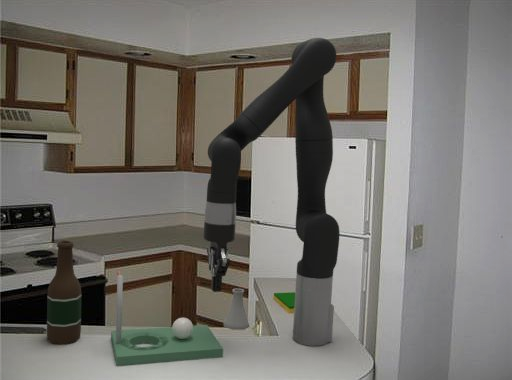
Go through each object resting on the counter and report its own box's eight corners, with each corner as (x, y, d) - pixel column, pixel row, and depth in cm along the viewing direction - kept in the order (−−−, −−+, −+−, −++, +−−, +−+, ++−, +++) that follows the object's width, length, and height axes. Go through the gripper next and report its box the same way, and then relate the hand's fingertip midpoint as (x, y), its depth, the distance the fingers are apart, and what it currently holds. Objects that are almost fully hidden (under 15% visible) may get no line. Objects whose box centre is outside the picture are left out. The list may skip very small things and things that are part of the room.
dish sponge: (288, 314, 164) (289, 306, 164) (273, 300, 177) (273, 292, 177) (311, 313, 166) (311, 305, 166) (294, 299, 179) (294, 291, 179)
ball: (190, 333, 138) (191, 314, 138) (194, 341, 134) (195, 321, 133) (170, 335, 137) (170, 315, 136) (173, 342, 132) (174, 322, 131)
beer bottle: (87, 337, 138) (89, 241, 135) (64, 347, 131) (65, 246, 128) (63, 330, 141) (64, 237, 139) (39, 340, 134) (40, 242, 132)
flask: (246, 332, 147) (248, 295, 146) (219, 328, 148) (221, 292, 147) (252, 323, 154) (254, 287, 153) (226, 320, 155) (228, 285, 154)
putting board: (206, 332, 145) (209, 264, 143) (222, 356, 130) (226, 281, 128) (111, 338, 138) (112, 267, 136) (116, 365, 123) (118, 285, 121)
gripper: (243, 225, 130) (238, 298, 131) (227, 216, 142) (223, 283, 144) (211, 225, 127) (207, 299, 129) (198, 215, 140) (195, 283, 141)
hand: (216, 290), depth 136 cm, fingers closed
